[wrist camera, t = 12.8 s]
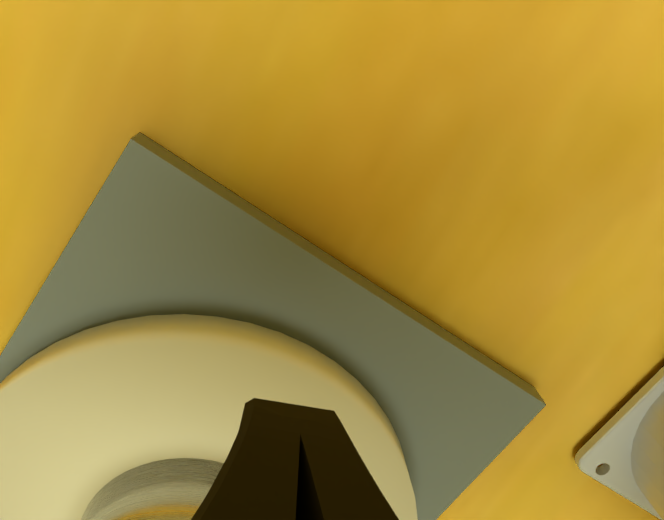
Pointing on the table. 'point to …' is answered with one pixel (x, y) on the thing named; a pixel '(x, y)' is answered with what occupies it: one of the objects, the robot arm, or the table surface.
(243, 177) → the table surface
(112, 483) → the cover
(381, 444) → the turntable
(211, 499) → the robot arm
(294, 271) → the base plate
